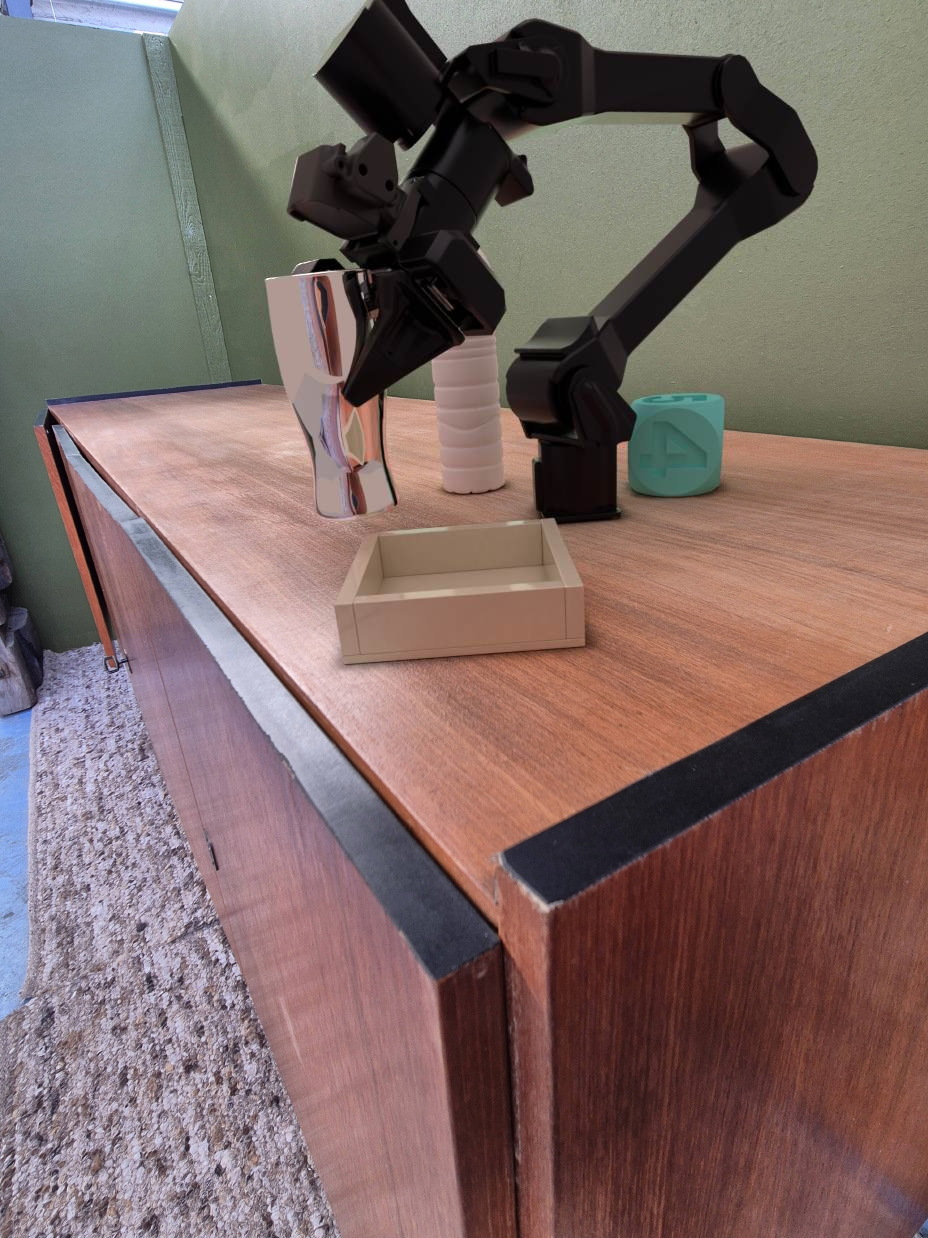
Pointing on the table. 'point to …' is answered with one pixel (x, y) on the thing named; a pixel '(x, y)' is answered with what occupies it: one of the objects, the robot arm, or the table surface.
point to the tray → (460, 593)
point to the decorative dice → (676, 444)
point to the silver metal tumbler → (333, 388)
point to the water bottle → (469, 415)
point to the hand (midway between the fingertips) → (322, 400)
